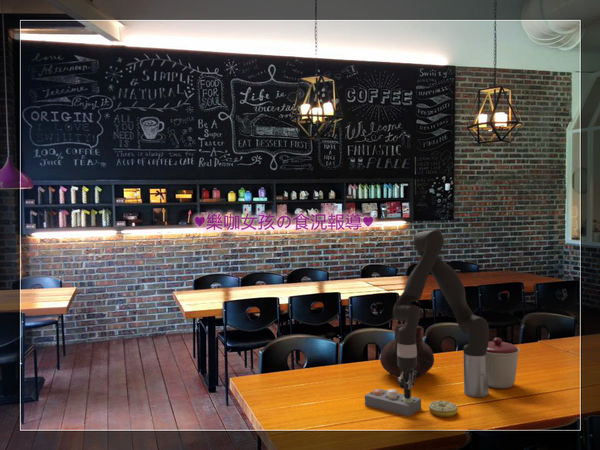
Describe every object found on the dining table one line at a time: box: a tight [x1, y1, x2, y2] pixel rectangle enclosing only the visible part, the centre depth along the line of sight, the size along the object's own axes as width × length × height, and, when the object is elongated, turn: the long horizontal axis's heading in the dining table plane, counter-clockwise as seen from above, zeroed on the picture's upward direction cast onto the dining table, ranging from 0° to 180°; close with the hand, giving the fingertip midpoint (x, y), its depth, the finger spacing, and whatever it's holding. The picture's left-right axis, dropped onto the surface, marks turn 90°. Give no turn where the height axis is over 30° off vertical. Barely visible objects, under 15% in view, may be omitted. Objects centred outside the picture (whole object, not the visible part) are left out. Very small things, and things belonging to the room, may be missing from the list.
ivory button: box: [387, 388, 399, 400], centre depth 211 cm, size 4×4×4 cm
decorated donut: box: [428, 400, 458, 418], centre depth 204 cm, size 10×11×4 cm
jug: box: [380, 323, 435, 379], centre depth 249 cm, size 25×25×25 cm
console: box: [364, 387, 422, 417], centre depth 212 cm, size 20×10×4 cm, turn 50°
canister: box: [486, 337, 521, 390], centre depth 233 cm, size 18×18×21 cm
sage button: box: [403, 396, 414, 404], centre depth 207 cm, size 4×4×4 cm
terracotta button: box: [372, 388, 382, 396], centre depth 216 cm, size 4×4×4 cm
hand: (407, 397), depth 207 cm, fingers closed
